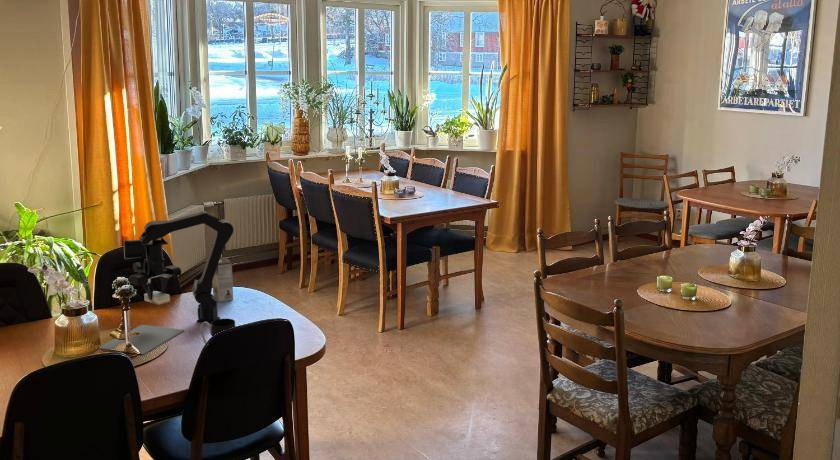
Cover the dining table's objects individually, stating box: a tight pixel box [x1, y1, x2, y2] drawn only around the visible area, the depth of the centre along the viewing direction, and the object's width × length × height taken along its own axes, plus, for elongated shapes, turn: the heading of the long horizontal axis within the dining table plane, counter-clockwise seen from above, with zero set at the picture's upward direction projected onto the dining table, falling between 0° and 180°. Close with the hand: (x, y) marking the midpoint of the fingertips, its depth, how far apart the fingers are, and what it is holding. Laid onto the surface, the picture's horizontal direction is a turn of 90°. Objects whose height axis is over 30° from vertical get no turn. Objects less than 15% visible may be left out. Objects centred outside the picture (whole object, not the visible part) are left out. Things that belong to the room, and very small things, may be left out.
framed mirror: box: [143, 290, 171, 305], centre depth 285 cm, size 8×5×3 cm, turn 57°
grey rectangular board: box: [98, 324, 185, 356], centre depth 274 cm, size 18×24×1 cm
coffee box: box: [212, 256, 234, 302], centre depth 319 cm, size 9×6×16 cm
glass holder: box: [199, 318, 236, 345], centre depth 252 cm, size 9×14×15 cm, turn 61°
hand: (157, 297), depth 285 cm, fingers closed on framed mirror, 5 cm apart
